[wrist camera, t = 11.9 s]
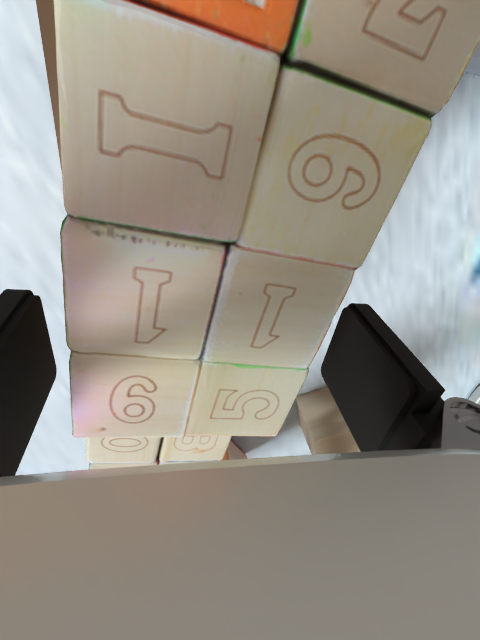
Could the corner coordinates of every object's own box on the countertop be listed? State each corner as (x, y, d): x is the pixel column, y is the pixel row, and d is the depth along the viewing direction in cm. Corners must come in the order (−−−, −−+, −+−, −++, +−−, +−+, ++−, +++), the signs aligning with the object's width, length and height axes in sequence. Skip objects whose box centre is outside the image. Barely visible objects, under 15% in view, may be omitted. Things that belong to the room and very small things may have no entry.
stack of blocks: (195, 374, 25) (215, 560, 15) (108, 368, 23) (67, 576, 13) (294, 10, 14) (605, -165, 4) (140, -58, 12) (26, -697, 2)
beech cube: (345, 381, 31) (371, 424, 28) (345, 412, 34) (369, 455, 31) (295, 395, 31) (314, 441, 27) (300, 425, 34) (318, 470, 30)
